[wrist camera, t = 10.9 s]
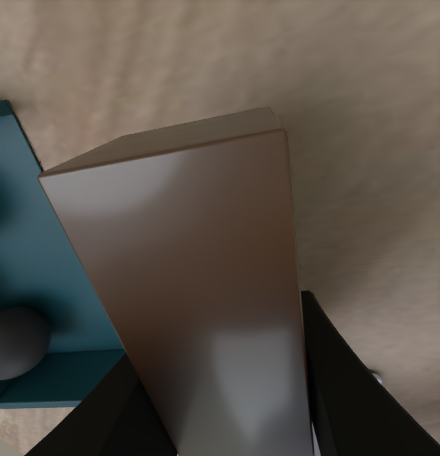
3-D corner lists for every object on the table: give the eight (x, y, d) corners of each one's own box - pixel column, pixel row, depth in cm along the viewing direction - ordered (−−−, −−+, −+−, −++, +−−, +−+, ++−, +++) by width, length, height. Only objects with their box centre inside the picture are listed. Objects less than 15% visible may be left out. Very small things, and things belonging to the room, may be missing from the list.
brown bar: (298, 391, 13) (321, 535, 9) (226, 393, 13) (216, 530, 9) (265, 100, 7) (287, 127, 3) (144, 125, 8) (33, 175, 4)
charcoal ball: (-9, 364, 18) (57, 328, 20) (-11, 411, 15) (67, 363, 17) (-47, 318, 16) (29, 283, 18) (-58, 361, 13) (35, 314, 15)
